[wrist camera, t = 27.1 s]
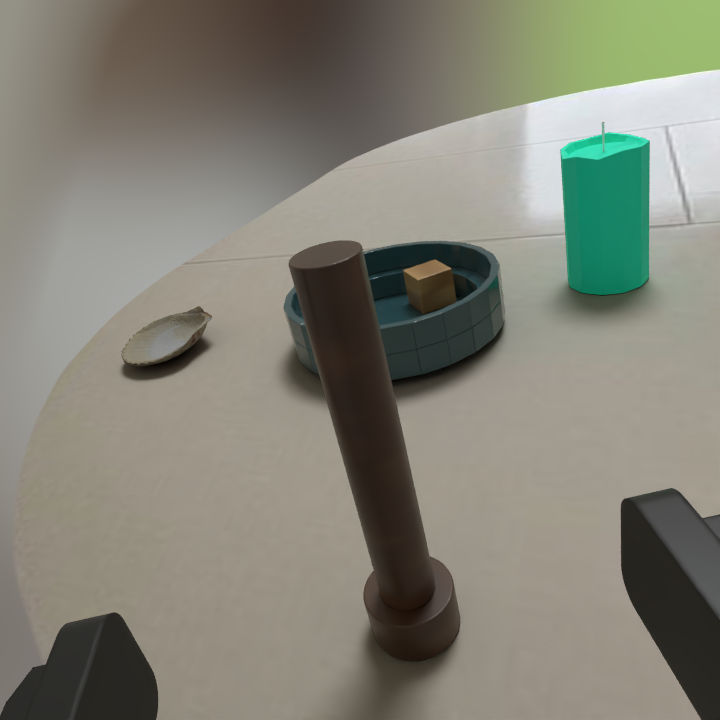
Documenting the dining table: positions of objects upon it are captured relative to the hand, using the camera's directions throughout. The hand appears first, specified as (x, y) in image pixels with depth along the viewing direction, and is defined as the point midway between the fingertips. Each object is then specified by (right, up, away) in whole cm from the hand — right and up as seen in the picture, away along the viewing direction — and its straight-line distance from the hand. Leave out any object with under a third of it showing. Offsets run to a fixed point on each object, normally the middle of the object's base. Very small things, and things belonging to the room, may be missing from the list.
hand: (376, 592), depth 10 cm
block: (+6, +8, +41) cm, 43 cm away
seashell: (-17, +4, +45) cm, 49 cm away
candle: (+19, +10, +40) cm, 45 cm away
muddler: (+2, -7, +16) cm, 17 cm away
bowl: (+3, +6, +39) cm, 40 cm away
